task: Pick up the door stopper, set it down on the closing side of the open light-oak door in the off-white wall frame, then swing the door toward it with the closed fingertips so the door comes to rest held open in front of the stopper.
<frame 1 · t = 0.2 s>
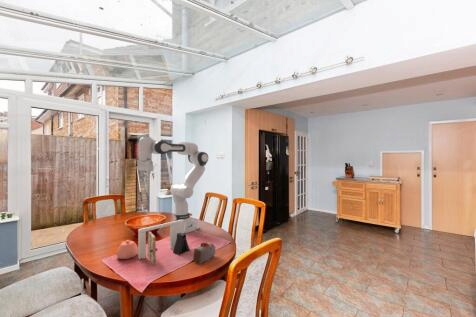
hand: (145, 176, 166), 48 cm above the table, fingers open, 8 cm apart
wall frame: (163, 251, 146), on the table
dark grey block: (204, 259, 135), on the table
door: (151, 247, 133), point 8 cm above the table, hinge at 100.0°
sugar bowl: (126, 256, 138), on the table
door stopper: (181, 252, 145), on the table
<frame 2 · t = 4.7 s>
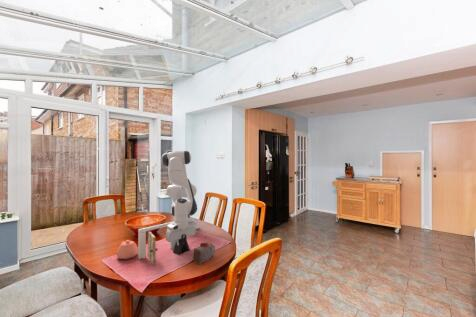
hand: (181, 244, 145), 5 cm above the table, fingers closed on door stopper, 3 cm apart
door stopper: (181, 252, 145), on the table, touching gripper
everything else where it was.
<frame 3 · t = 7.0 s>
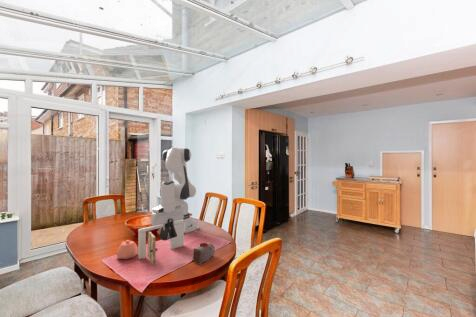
hand: (167, 229, 135), 18 cm above the table, fingers closed on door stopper, 3 cm apart
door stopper: (168, 237, 135), point 13 cm above the table, touching gripper
everything else where it was.
when the fingers open (6 cm above the table, at t = 9.2 s): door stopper drops 1 cm, on the table.
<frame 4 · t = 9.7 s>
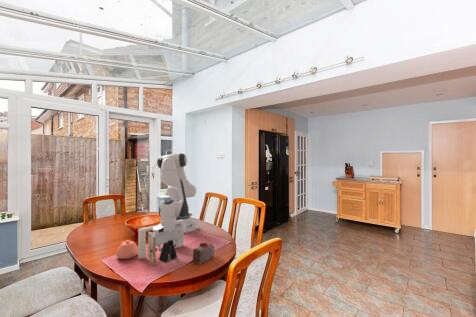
hand: (167, 248, 135), 6 cm above the table, fingers open, 8 cm apart
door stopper: (168, 259, 135), on the table
everything else where it was.
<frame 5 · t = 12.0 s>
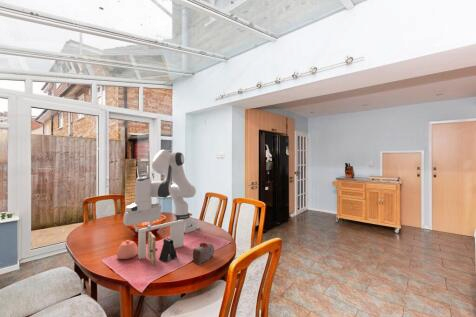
hand: (143, 229, 125), 21 cm above the table, fingers open, 5 cm apart
nothing on the table moved.
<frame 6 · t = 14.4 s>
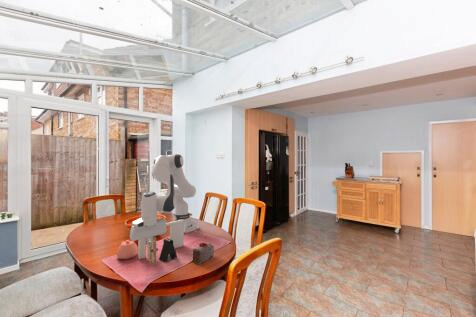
hand: (149, 244, 127), 12 cm above the table, fingers closed
door: (151, 247, 133), point 8 cm above the table, hinge at 98.4°, touching gripper
everything else where it was.
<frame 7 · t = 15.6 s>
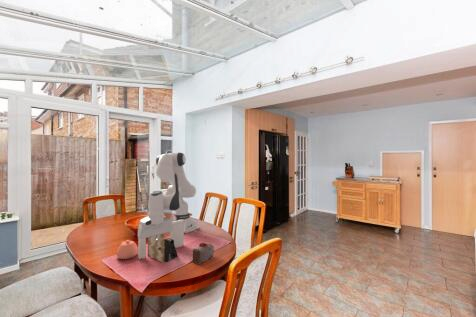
hand: (156, 242, 130), 12 cm above the table, fingers closed
door: (156, 245, 135), point 8 cm above the table, hinge at 77.7°, touching gripper
everything else where it was.
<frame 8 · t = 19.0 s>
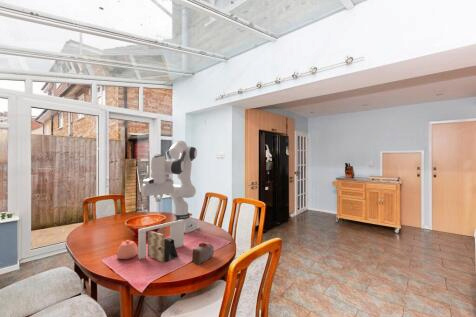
hand: (158, 201, 140), 34 cm above the table, fingers closed
door: (156, 245, 135), point 8 cm above the table, hinge at 77.5°
everything else where it was.
at the end: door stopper inside the target area (1.2 cm from its centre), on the table; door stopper tilted 0°; door at +78° (first picture: +100°) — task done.
